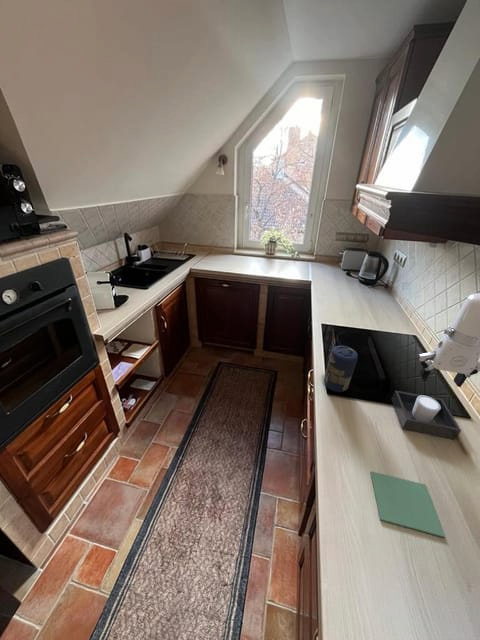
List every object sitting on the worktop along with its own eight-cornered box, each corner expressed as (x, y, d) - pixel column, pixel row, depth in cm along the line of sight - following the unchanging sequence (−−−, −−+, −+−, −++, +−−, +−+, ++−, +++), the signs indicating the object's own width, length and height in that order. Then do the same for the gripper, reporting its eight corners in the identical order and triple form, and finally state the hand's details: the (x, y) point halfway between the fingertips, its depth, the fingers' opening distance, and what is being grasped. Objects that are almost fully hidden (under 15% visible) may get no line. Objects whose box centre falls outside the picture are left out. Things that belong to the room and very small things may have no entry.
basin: (436, 408, 93) (442, 398, 91) (454, 440, 82) (461, 430, 80) (391, 399, 97) (395, 390, 94) (401, 429, 85) (406, 419, 83)
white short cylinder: (405, 412, 90) (412, 398, 87) (418, 406, 93) (425, 392, 89) (424, 427, 85) (432, 413, 81) (437, 421, 87) (445, 406, 84)
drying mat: (424, 485, 69) (425, 484, 69) (444, 538, 59) (445, 537, 59) (370, 472, 72) (370, 471, 72) (379, 520, 62) (380, 519, 62)
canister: (321, 376, 107) (330, 340, 98) (344, 378, 106) (355, 343, 97) (325, 392, 99) (334, 355, 90) (350, 395, 98) (362, 358, 89)
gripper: (436, 338, 71) (413, 383, 79) (509, 349, 68) (476, 395, 76) (426, 325, 77) (406, 368, 86) (492, 334, 74) (464, 378, 82)
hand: (439, 380), depth 81 cm, fingers open, 9 cm apart
